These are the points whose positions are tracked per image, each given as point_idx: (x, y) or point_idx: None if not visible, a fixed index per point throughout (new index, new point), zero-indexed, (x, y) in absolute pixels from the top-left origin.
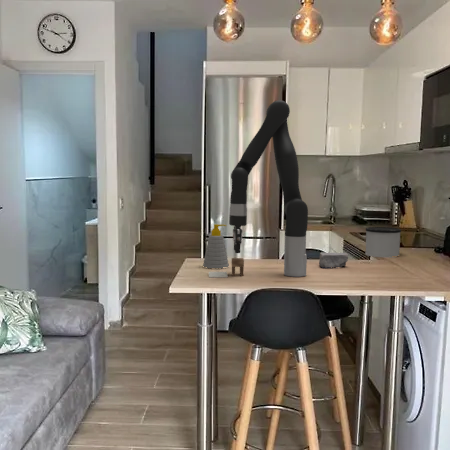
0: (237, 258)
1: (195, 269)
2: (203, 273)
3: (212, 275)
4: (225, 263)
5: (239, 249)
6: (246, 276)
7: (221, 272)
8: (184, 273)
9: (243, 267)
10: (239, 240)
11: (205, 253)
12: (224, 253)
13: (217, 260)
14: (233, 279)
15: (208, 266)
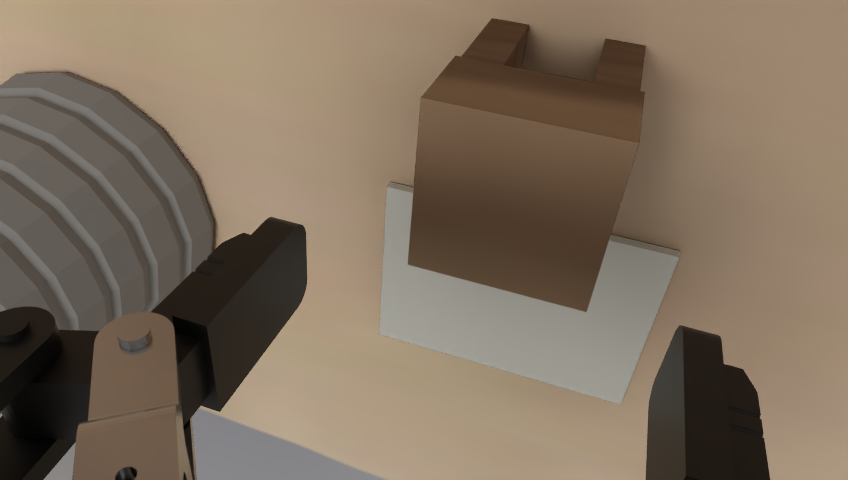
0: (449, 196)
1: None
2: (419, 373)
3: (575, 364)
4: (118, 150)
5: (733, 407)
6: (683, 7)
7: None
8: (408, 475)
9: (639, 91)
10: (151, 336)
11: None
12: (11, 215)
13: (141, 258)
14: (825, 226)
15: None
